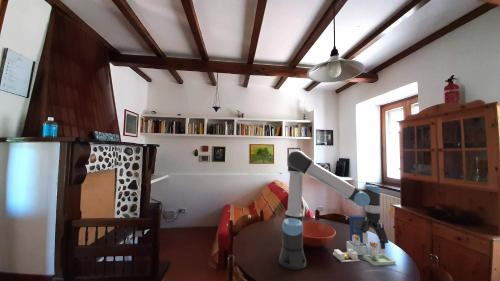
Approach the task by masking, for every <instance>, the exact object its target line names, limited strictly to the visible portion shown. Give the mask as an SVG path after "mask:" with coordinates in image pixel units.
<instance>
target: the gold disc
mask: <svg viewBox="0 0 500 281" xmlns="http://www.w3.org/2000/svg"><path fill="white" fill-rule="evenodd" d="M344 260H350V257H349V255H348V254H344Z"/></svg>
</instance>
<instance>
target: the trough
mask: <svg viewBox="0 0 500 281" xmlns="http://www.w3.org/2000/svg"><path fill="white" fill-rule="evenodd" d="M362 257H363V259H364V260H365V261H367V262H368V263H369V264H371V265H372V266H391V265H396V262H397V261H395V259H392V258H391V257H389V256H387V255H386V254H385V255H380V254H379V261H378V262H374V261H372V260H371V259H370V254H367V255H362Z"/></svg>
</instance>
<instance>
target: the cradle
mask: <svg viewBox="0 0 500 281" xmlns="http://www.w3.org/2000/svg"><path fill="white" fill-rule="evenodd" d="M344 254H348V255H349V258H351V259H345V258H344ZM332 255H333V256H334V257H335V258H336V259H337V260H339V261H340V262H341V263H347V262H348V263H350V262H360V261H361V260H360V259H359V255H358V253H357V252H355V251H354V250H353V249H347V248H346V252H342V251H341V250H340V249H339V248H337V249H333V253H332Z"/></svg>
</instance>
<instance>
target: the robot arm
mask: <svg viewBox="0 0 500 281" xmlns="http://www.w3.org/2000/svg"><path fill="white" fill-rule="evenodd" d="M287 172H288V173H289V182H288V198H287V210H286V211H285V212H284V219H283V221H282V225H281V229H282V230H281V233H282V237H281V238H282V239H281V240H282V242H281V244H282V246H281V251H280V254H279V257H278V262H279V264H280V266H282V267H284V268H285V269H288V270H295V271H296V270H299V271H300V270H302V269H304V268H305V267H306V266H307V259H306V255H305V253H304V247H303V246H304V242H303V241H304V235H303V234H304V225H303V224H304V214H303V212H302V202H303V201H302V200H303V185H304V183H303V182H304V175H309V176H311V177H312V178H314V179H315V180H317V181H318V182H320V183H322V184H324V185H325V186H327V187H328V188H330V189H332V190H334V191H335V192H337V193H338V194H340V195H342V196H343V198H344V200H346V201H347V200H348V201H351V202H352V203H354V204H356V205H357V206H359V207H364V208H365V211H364V213H365V215H364V216H365V217H363V221H362V224H361V227H360V230H361V231H362V236H363V244H366V245H368V244H369V243H368V235H369V234H368V231H369V230H370V229H371V228H372V229H373V230H374V232H375V233H376V236H377V238H378V240H379V242H378V252H379V254H380V255H386V254H385V251H386V244H388V243H389V240H388V237H387V233H386V230H385V227H384V226H385V225H384V223H380V220H381V191H380V190H381V188H380V186H379V185H374V184H366V185H365V186H364V187H355V185H352V184H351V183H349V182H347V181H346V180H344V179H343V178H340V177H339V176H337V175H336V174H334V173H332V172H330V171H329V170H328V169H325V168H324V167H322V166H320V165H319V164H317V163H316V162H315V161H314V159H312V158H310V157H309V156H307V155H306V154H305V153H304V152H303V151H301V150H293V151H291V152H290V153H289V154H288V156H287Z"/></svg>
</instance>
